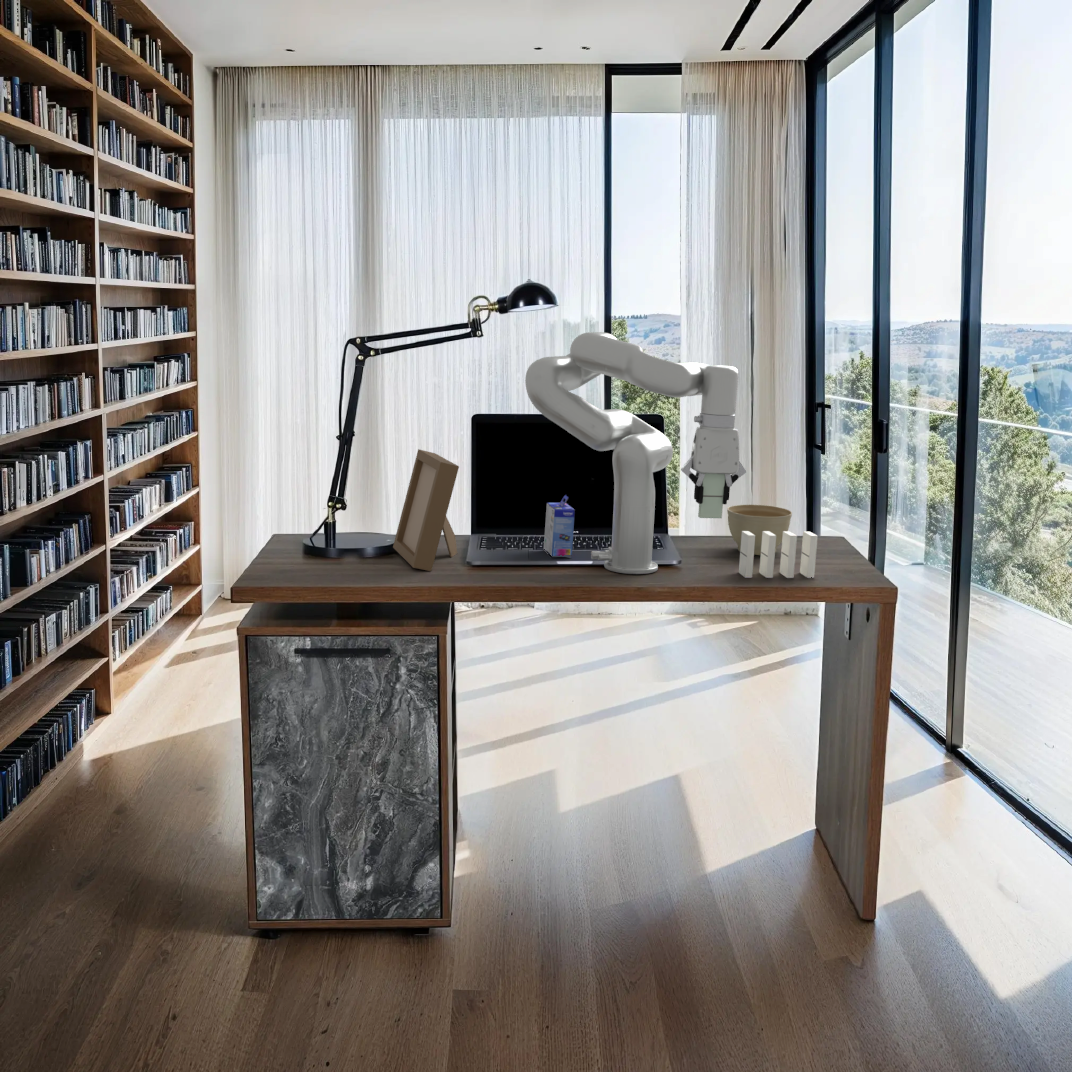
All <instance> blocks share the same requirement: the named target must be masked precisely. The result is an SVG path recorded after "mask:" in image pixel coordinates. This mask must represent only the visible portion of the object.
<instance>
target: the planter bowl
mask: <svg viewBox="0 0 1072 1072" xmlns="http://www.w3.org/2000/svg"><path fill="white" fill-rule="evenodd" d="M792 516H793V512H792V511H791V510H789V509H787V508H783V507H779V506H775V505H765V504H736V505H732V506H731V505H730V506H728V507H727V525H728V528H729V532H730V534H731V537H732V539H733V541H734V542H735V544H736V545H737V551H738V552H740V549H741V535H742V531H749V532H751V533H752V534H754V535H755V545H754V556H755V555H756V556H761V544H762V532H763V531H770V532H771V533H773V534H775V535H776V545H775V553H776V552H777V550H778V549H777V548H778V547H779V546H780V545H782V537H783V531H789V528H790V524H791V518H792Z"/></svg>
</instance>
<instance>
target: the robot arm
mask: <svg viewBox="0 0 1072 1072" xmlns="http://www.w3.org/2000/svg"><path fill="white" fill-rule="evenodd" d="M600 375H604V376H608V377H611V378H615V379H619V380H622V381H625V382H627V383H629V384H630V385H634V386H636V387H638V388H640V389H643V390H646V391H649V392H652V393H656V394H659V395H663V396H665V397H670V398H676V399H677V398H678V399H679V398H685V397H694V396H701V406H700V412H699V415H695V416H694V417H693V422H694V423H698V424H699V426H697V427H696V429H695V433H694V436H693V437H694V438H693V442H692V448H691V454H690V458H689V459H688V460H687V461H686V462H685V463H684V464H683V466H682V467H681V468H680V471H681V472H682V473H683V474H684V475H686V476H687V477H688V478H689V479H690V480H691V482H692V483H693V484H694V489H693V490H694V494H693V499H694V500H695V502H696V503H697V504H698V505H699V504H702V503H703V490H704V487H703V486H702V482H703V479H704V476H705V474H724V475H725V484H724V492H723V505H727V503H728V502H727V501H729V500H730V490H731V489H730V488H731V487H732V486H733V484H734V483H735V482H736V481H738V480H739V478H741V477H742V476H744V475H745V474H746V473H747V471H746V468H745V467H744V466H743V464H742V463H741V461H740V438H739V437H740V436H739V430H738V428H735V423H736V422H735V420H736V408H737V396H738V385H739V384H738V383H739V371H738V368H736V367H735V366H731V365H722V364H719V365H718V364H713V365H712V364H711V365H710V364H707V363H702V362H696V361H685V362H674V361H670V360H666V359H663V358H660V357H659V358H658V357H657V356H656V357H655V356H652V355H650V354H647V353H646V352H644V351H643V349H642V347H641V346H640V345H639V344H635V343H630V342H627V341H623V340H620V339H618V338H617V337H615V336H614V335H613V334H611V333H609V332H602V331H599V332H597V331H596V332H594V331H593V332H591V331H589V332H584V333H581V334H579V335H577V336H576V337H575V338H574V339H573V341H572V342H571V344H570V349H569V353H568V354H566V355H561V356H560V355H559V356H558V355H556V356H545V357H541V358H538V359H536V360H534V361H533V362H532V363H531V364H530V365H529V366H528V368H527V370H526V372H525V377H524V379H525V380H524V381H525V390H526V394H527V397H528V398H529V399H528V400H529V401H530V402H531V403H532V405H533V407H534V408H535V409H536V410H537V411H538V412H539V413H540V414H541V415H542V416H544V417H545V418H547V420H549V421H551V422H553V423H554V424H556V425H557V426H559V427H560V428H562V429H563V430H565V431H567V433H569V434H571V435H572V436H573V437H575V438H576V439H578V440H579V441H580V442H582V443H584V444H585V445H586V446H587V447H590V448H591V449H593V450H594V451H595V450H596V451H598V452H604V451H605V452H606V451H610V450H612V451H613V452H612V470H613V482H614V485H613V489H614V490H613V512H612V513H613V514H612V535H611V546H608V549H604V551H599V550H598V551H597V550H592V551H591V552H590V554H591V555H590V558H591V559H590V560H598V561H604V563H603V566H604V568H605V569H606V570H608V571H609V572H610V571H611V572H615V573H619V574H628V575H645V574H652V573H654V572H657V571H658V568H659V566H658V563H656V562H655V561H653V560H652V559H653V558H652V557H653V546H654V545H653V541H654V524H655V510H656V508H655V506H656V487H655V480H654V473H656V472H659V471H661V470H663V469H665V468H666V467H667V466H668V465H670V463H671V461H672V459H673V455H674V451H673V446H672V443H671V441H670V439H669V438H668V437H667V436H666V435H665V434H664V433H663V432H661V431H660V430H658V429H657V428H655V427H653V426H651V424H648V423H647V422H645V420H642V419H641V418H639V417H638V416H637V415H634V414H633V413H631V412H629V411H627V410H624V409H621V408H619V409H618V408H613V409H609V408H608V409H601V408H600V407H598V406H596V405H594V404H592V403H590V402H588V401H587V400H586V399H584V398H583V397H582V396H580V395H578V394H575V393H573V392H572V391H574V390H577V389H579V388H581V387H583V386H584V385H586V384H588V383H589V382H591V381H592V380H594V379H595V378H597V377H598V376H600ZM691 470H693V471H695V474H694V473H693V472H692V471H691Z"/></svg>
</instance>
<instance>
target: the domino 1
mask: <svg viewBox="0 0 1072 1072" xmlns="http://www.w3.org/2000/svg"><path fill="white" fill-rule="evenodd" d="M724 484H725V475H724V474H705V476H704V479H703V482H702V486H703V487H704V490H703V503H702V504H698V513H697V514H698V515H697V516H698V518H699V519H722V518H723V508H724V507H723V506H724V504H723V492H724Z"/></svg>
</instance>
